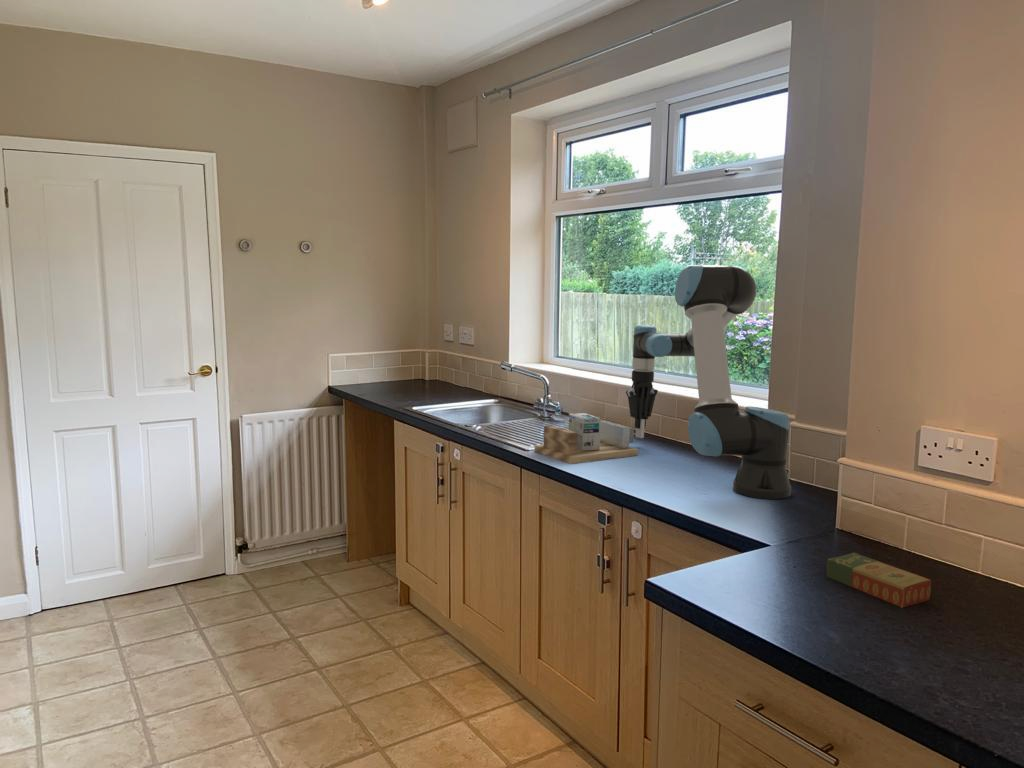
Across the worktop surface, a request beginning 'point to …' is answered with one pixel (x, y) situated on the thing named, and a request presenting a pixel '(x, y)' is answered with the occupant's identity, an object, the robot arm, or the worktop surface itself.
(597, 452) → the vise
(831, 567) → the carton
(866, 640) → the worktop surface
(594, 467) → the worktop surface
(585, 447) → the light bulb box
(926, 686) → the worktop surface
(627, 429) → the sliding jaw
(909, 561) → the worktop surface
